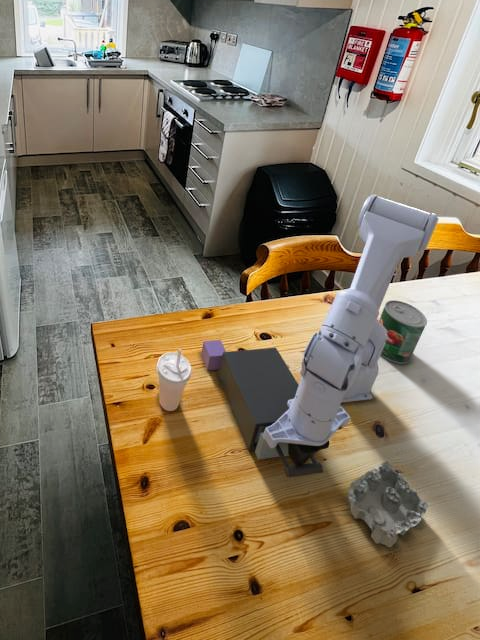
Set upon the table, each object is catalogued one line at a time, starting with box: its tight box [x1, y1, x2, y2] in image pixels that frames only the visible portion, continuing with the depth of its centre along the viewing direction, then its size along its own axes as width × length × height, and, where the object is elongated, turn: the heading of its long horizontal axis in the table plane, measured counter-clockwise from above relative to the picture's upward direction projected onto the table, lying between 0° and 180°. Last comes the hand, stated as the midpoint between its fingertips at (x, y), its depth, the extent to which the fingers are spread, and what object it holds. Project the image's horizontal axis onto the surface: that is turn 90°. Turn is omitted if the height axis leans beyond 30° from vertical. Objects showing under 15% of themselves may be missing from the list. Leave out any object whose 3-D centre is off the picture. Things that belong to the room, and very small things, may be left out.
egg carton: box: [347, 460, 429, 548], centre depth 61 cm, size 11×8×4 cm
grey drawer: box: [254, 425, 324, 479], centre depth 71 cm, size 18×10×5 cm, turn 8°
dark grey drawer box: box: [217, 347, 299, 451], centre depth 75 cm, size 15×12×7 cm
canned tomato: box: [378, 299, 428, 365], centre depth 89 cm, size 8×8×11 cm
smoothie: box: [156, 348, 192, 412], centre depth 74 cm, size 6×6×14 cm
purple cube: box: [200, 339, 227, 371], centre depth 85 cm, size 4×4×4 cm
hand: (295, 459), depth 65 cm, fingers closed
